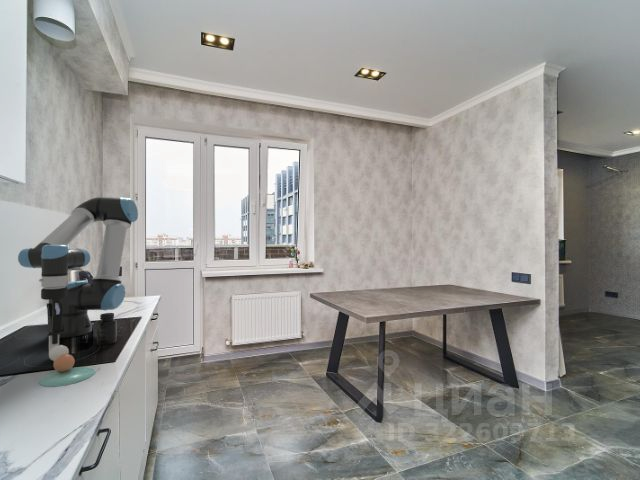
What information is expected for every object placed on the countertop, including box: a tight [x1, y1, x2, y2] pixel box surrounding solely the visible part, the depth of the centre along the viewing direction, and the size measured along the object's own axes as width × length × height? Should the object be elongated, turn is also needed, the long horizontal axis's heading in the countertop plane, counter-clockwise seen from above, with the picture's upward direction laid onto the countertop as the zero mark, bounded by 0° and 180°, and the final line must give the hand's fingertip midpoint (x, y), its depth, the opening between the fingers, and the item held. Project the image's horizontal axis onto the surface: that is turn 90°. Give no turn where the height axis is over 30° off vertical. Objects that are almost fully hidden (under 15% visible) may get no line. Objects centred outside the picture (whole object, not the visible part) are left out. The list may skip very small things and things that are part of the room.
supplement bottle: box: [96, 312, 118, 346], centre depth 135 cm, size 7×7×12 cm
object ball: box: [53, 353, 76, 372], centre depth 107 cm, size 6×6×6 cm
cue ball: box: [48, 344, 70, 362], centre depth 115 cm, size 6×6×6 cm
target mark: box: [38, 366, 96, 388], centre depth 103 cm, size 14×14×1 cm
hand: (53, 352), depth 119 cm, fingers closed
